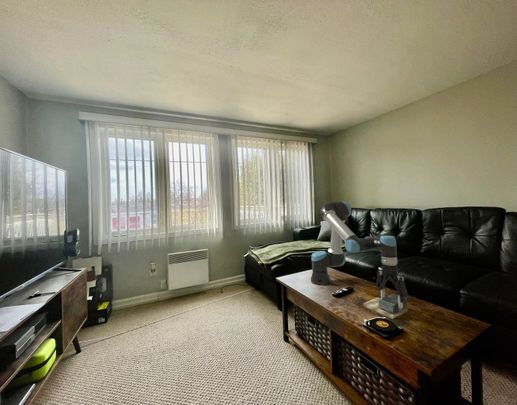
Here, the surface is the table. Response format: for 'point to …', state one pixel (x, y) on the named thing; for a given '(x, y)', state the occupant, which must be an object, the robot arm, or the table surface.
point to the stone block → (391, 304)
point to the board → (375, 306)
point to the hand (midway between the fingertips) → (391, 304)
